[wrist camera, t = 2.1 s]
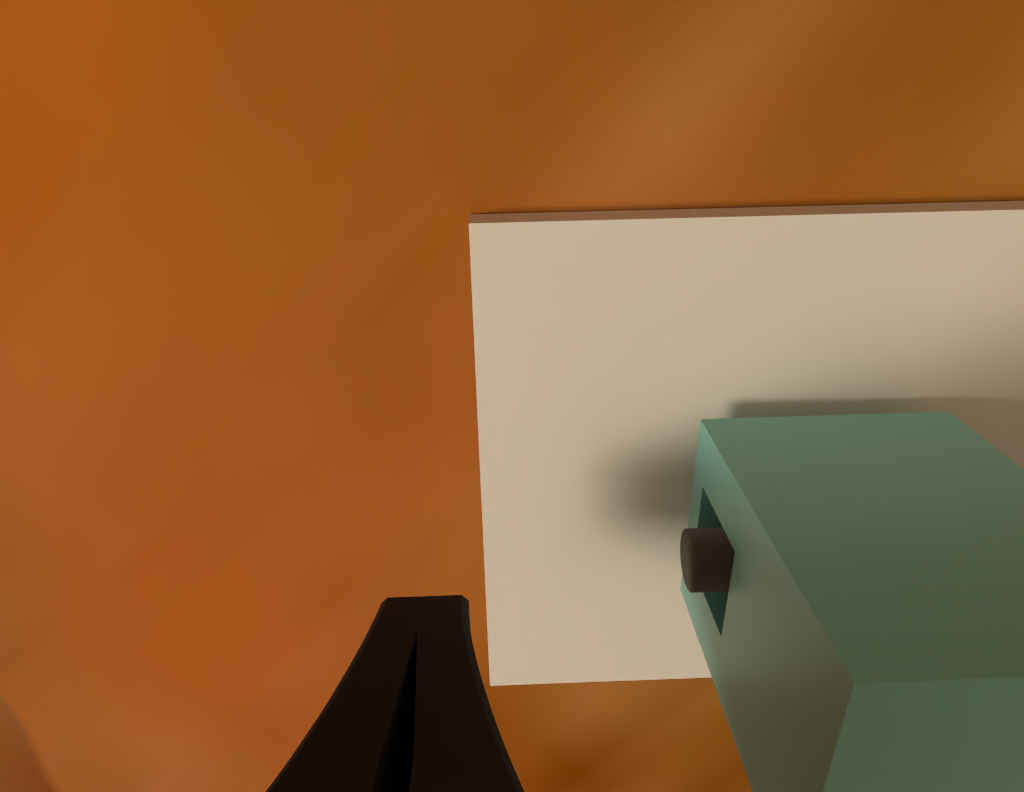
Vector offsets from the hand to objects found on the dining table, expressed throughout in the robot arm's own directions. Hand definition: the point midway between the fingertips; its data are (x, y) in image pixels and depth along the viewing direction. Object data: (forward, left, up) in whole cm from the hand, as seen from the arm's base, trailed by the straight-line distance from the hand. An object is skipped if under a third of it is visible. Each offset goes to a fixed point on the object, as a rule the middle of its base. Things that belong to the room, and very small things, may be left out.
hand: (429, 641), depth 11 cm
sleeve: (0, -8, -3) cm, 9 cm away
